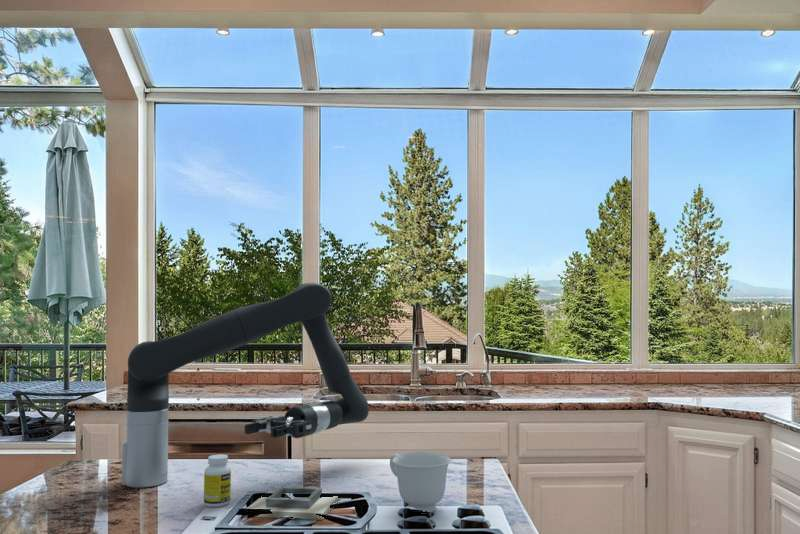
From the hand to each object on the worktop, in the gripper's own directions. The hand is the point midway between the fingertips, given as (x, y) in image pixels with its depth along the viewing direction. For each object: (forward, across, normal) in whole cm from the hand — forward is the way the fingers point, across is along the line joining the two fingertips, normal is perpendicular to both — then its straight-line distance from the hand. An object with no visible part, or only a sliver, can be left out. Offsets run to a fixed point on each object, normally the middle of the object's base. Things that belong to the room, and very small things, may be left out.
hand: (258, 431), depth 143 cm
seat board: (+4, +15, +13) cm, 21 cm away
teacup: (-9, +36, +14) cm, 40 cm away
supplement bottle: (+12, 0, +13) cm, 18 cm away
